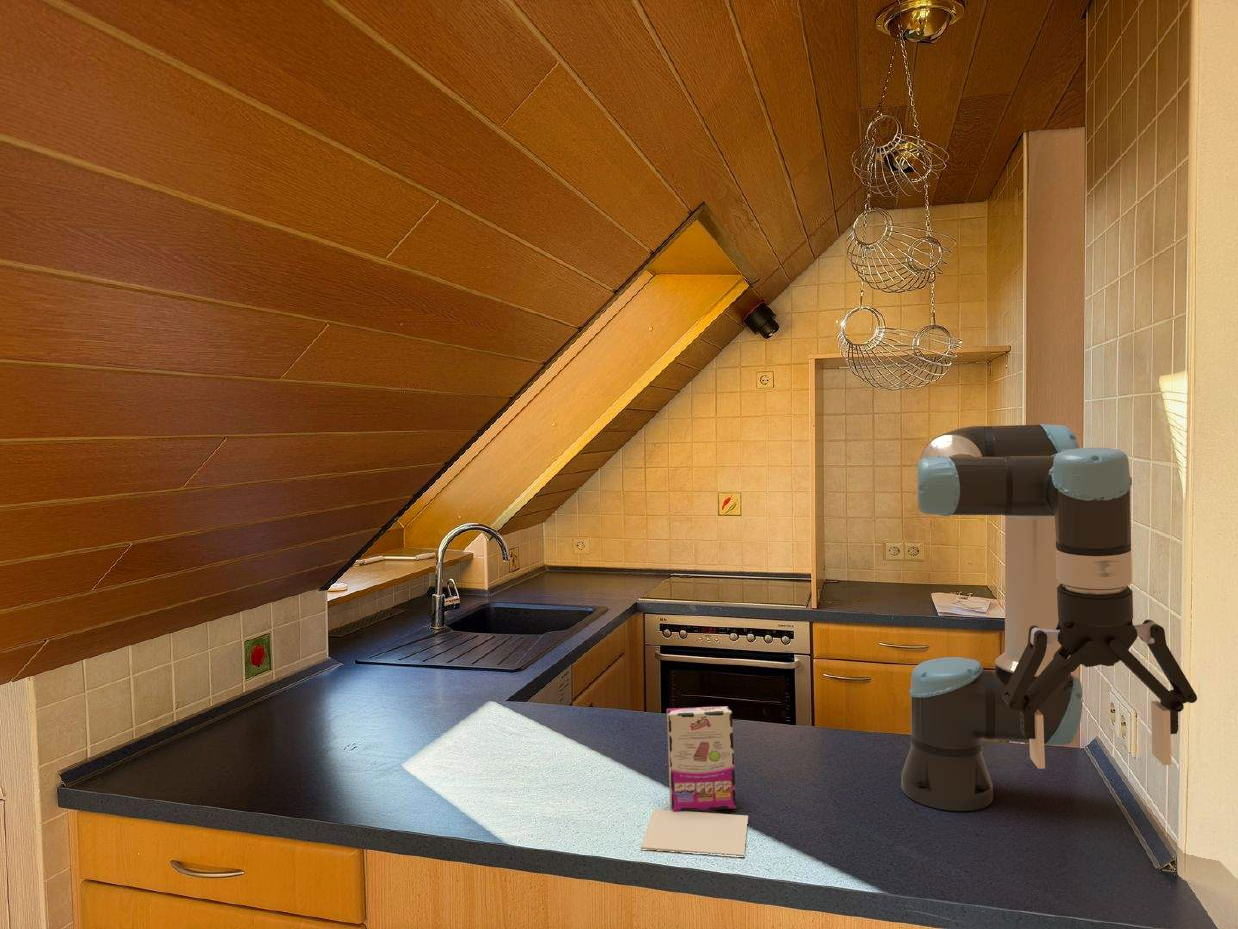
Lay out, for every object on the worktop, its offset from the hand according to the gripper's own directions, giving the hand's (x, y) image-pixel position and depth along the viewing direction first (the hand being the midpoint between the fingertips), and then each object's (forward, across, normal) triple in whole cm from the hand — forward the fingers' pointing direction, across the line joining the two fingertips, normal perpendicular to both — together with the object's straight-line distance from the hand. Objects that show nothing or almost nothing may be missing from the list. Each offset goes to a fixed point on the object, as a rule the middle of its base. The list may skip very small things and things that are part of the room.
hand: (1098, 761), depth 98 cm
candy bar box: (+26, -50, +38) cm, 68 cm away
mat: (+25, -50, +28) cm, 63 cm away
